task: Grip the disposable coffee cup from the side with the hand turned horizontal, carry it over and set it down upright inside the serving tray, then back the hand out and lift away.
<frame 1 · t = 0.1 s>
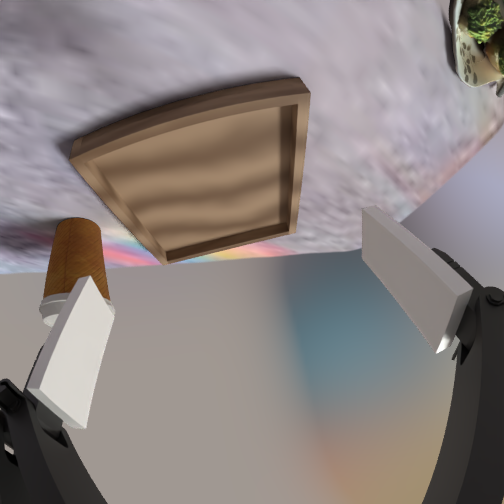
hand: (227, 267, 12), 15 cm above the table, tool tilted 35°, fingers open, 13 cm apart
salad plate: (492, 20, 11), on the table
serving tray: (208, 185, 31), on the table
disposable coffee cup: (78, 229, 31), on the table
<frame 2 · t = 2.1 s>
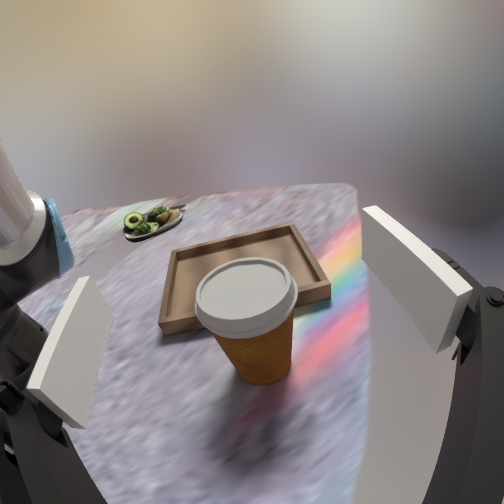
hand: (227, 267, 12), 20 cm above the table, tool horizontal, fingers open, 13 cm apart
salad plate: (151, 227, 74), on the table
serving tray: (239, 276, 46), on the table
disposable coffee cup: (264, 363, 31), on the table
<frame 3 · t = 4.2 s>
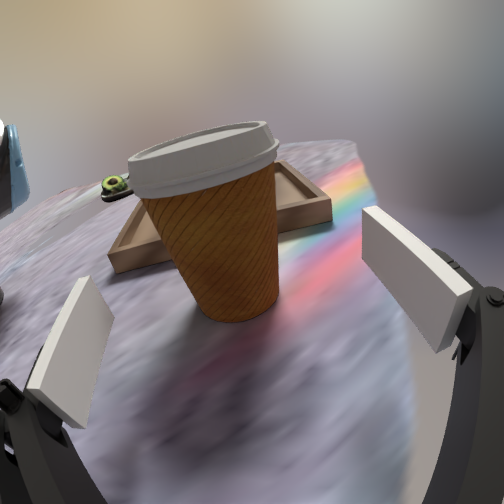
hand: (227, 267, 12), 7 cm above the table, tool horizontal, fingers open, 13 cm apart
salad plate: (130, 189, 65), on the table
serving tray: (217, 211, 37), on the table
disposable coffee cup: (239, 295, 22), on the table
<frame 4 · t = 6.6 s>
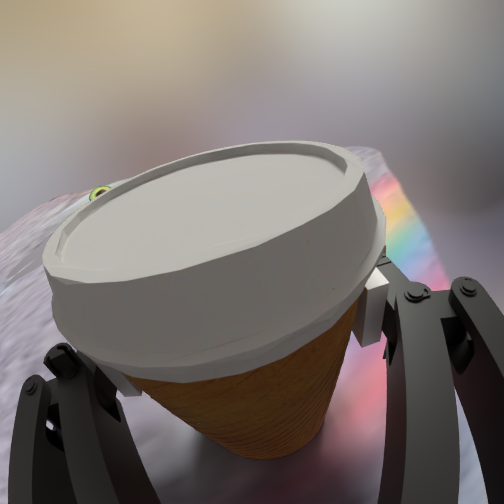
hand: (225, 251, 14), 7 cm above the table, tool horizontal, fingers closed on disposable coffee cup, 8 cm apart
disposable coffee cup: (266, 408, 13), on the table, touching gripper
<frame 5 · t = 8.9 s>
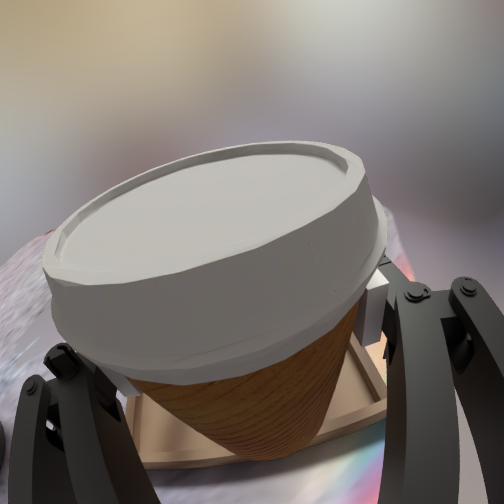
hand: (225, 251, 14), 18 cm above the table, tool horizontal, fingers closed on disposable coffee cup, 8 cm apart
serving tray: (243, 373, 28), on the table
disposable coffee cup: (266, 409, 13), point 11 cm above the table, touching gripper
when the fingers open (9 cm above the table, at t = 11.6 s): disposable coffee cup drops 1 cm, resting on serving tray.
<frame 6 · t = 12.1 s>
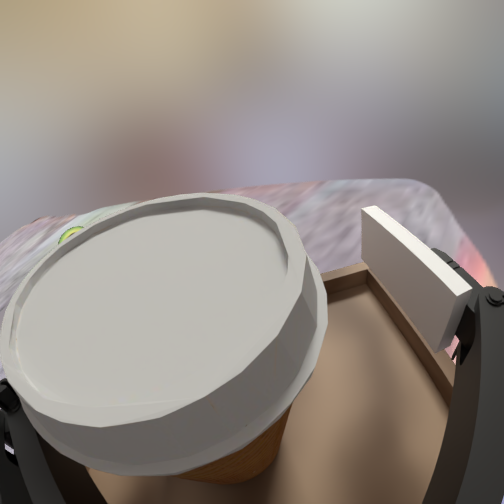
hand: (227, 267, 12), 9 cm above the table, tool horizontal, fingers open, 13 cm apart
serving tray: (255, 427, 14), on the table
disposable coffee cup: (225, 436, 13), point 1 cm above the table, touching gripper, serving tray
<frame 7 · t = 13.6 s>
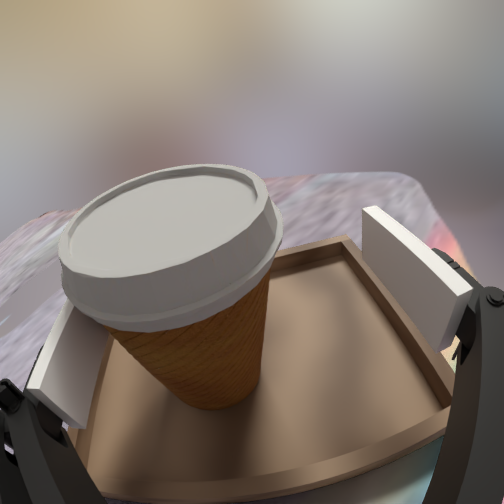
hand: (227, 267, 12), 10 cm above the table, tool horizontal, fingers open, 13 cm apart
serving tray: (241, 366, 19), on the table
disposable coffee cup: (213, 370, 18), point 1 cm above the table, touching gripper, serving tray
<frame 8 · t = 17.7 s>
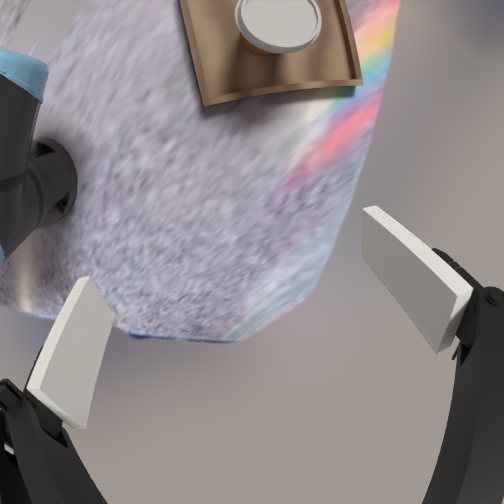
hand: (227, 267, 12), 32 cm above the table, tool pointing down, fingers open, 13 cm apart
serving tray: (271, 31, 31), on the table
disposable coffee cup: (261, 37, 31), point 1 cm above the table, touching serving tray
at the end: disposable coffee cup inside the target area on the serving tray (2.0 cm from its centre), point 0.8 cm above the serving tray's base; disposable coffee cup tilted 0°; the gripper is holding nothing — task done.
